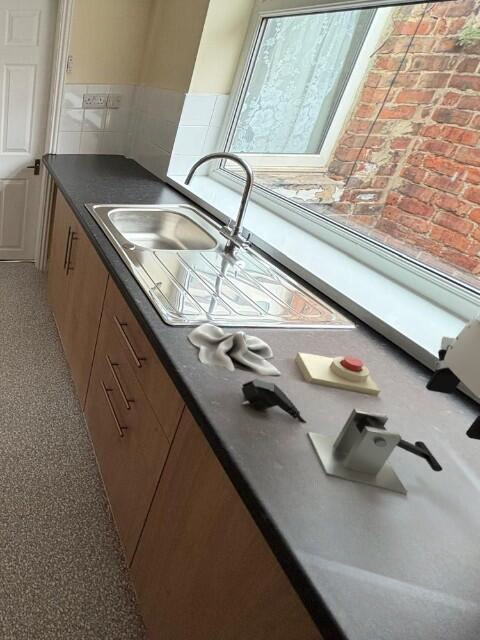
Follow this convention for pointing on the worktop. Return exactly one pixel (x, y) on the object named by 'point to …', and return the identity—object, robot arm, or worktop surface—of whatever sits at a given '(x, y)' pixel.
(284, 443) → the worktop surface
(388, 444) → the lever mounting bracket
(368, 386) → the control block
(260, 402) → the power plug
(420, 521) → the worktop surface
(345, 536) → the worktop surface
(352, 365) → the button
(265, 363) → the cloth
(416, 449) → the switch lever
